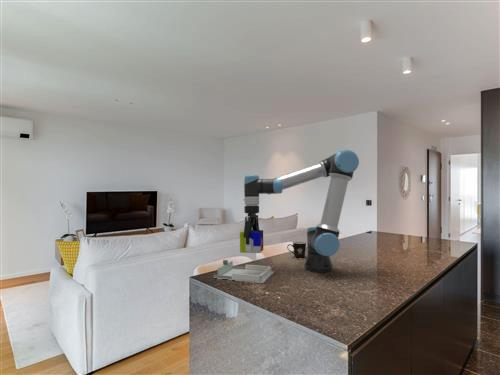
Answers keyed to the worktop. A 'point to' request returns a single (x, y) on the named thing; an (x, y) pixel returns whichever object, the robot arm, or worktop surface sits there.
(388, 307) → the worktop surface
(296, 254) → the coffee mug
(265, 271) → the housing
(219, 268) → the gate
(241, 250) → the puzzle toy
